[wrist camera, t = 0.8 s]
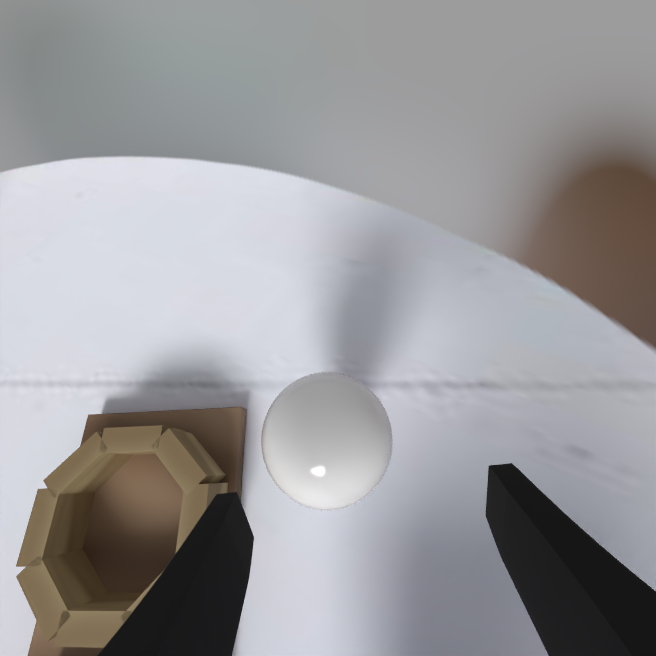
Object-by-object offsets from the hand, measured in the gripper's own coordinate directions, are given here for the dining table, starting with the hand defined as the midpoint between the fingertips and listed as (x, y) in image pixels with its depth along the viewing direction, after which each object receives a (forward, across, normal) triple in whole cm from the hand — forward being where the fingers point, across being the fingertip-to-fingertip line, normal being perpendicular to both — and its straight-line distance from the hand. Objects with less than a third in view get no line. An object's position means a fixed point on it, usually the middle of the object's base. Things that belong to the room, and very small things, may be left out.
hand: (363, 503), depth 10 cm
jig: (+7, +15, +13) cm, 21 cm away
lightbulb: (+11, +2, +9) cm, 15 cm away
